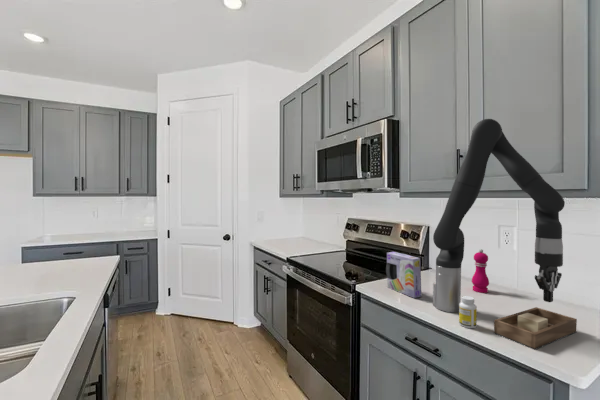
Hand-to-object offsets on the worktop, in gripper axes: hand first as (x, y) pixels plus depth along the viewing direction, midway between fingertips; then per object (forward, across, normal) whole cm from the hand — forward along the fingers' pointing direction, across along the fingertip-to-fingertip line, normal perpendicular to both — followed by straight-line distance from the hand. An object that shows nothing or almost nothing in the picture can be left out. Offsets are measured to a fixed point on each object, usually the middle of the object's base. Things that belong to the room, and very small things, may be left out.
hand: (548, 301), depth 106 cm
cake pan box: (+9, +15, -52) cm, 55 cm away
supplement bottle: (+10, +22, -14) cm, 28 cm away
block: (+8, +9, 0) cm, 12 cm away
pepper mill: (+9, -20, -37) cm, 43 cm away
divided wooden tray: (+10, +7, 0) cm, 12 cm away
